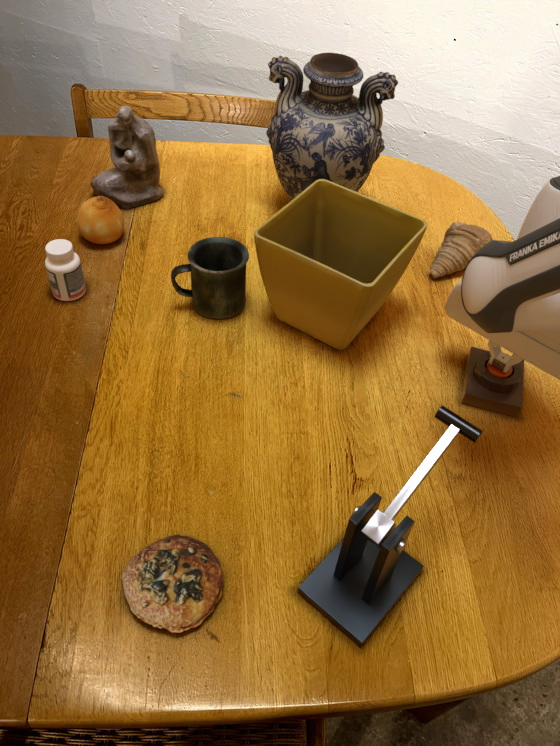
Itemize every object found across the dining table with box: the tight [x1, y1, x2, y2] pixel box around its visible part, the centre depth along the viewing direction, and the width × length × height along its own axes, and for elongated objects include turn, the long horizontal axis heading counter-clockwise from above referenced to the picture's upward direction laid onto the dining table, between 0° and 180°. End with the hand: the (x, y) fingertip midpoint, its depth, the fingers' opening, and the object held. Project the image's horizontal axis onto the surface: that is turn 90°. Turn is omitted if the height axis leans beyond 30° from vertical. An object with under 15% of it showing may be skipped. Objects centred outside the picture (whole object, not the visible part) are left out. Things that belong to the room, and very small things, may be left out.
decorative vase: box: [265, 52, 399, 201], centre depth 114 cm, size 21×19×28 cm
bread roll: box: [121, 534, 225, 634], centre depth 71 cm, size 11×11×5 cm
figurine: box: [90, 105, 164, 210], centre depth 118 cm, size 13×12×18 cm
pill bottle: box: [44, 238, 87, 302], centre depth 102 cm, size 5×5×9 cm
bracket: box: [296, 491, 425, 648], centre depth 70 cm, size 12×9×14 cm
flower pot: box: [253, 179, 429, 351], centre depth 99 cm, size 19×19×17 cm
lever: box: [361, 405, 484, 549], centre depth 67 cm, size 16×5×2 cm, turn 138°
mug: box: [170, 236, 250, 320], centre depth 101 cm, size 9×12×10 cm
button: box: [485, 361, 512, 379], centre depth 94 cm, size 4×4×2 cm
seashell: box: [429, 221, 494, 280], centre depth 113 cm, size 14×8×8 cm
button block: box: [460, 346, 525, 418], centre depth 95 cm, size 10×8×4 cm
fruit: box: [76, 196, 125, 245], centre depth 113 cm, size 8×8×8 cm
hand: (499, 366), depth 94 cm, fingers closed, pressing on button
